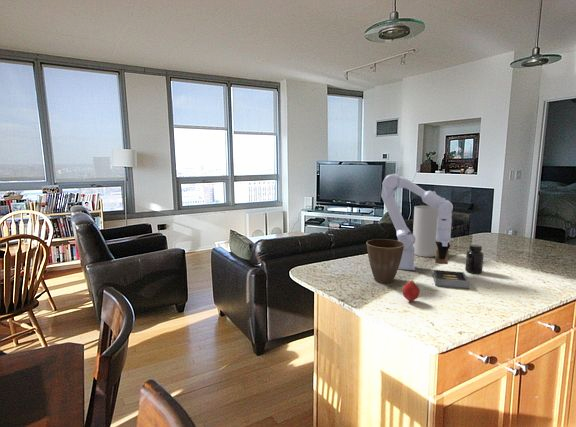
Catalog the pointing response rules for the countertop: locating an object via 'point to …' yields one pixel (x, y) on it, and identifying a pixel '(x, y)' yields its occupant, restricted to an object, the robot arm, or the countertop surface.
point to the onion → (410, 291)
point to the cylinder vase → (425, 231)
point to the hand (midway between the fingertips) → (441, 258)
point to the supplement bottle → (474, 259)
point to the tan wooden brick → (441, 261)
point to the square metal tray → (450, 279)
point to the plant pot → (384, 258)
